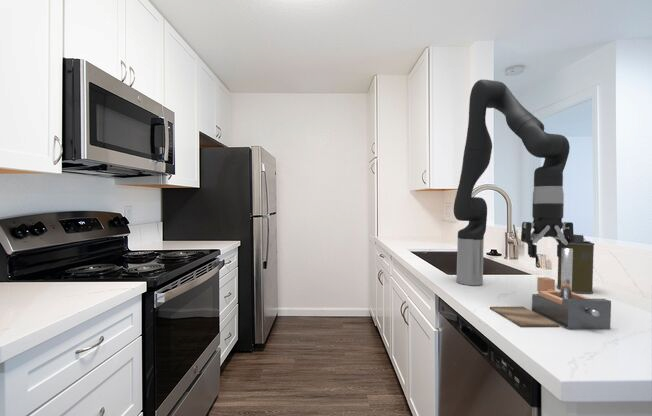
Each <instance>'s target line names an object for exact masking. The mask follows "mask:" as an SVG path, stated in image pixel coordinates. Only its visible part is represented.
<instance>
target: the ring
mask: <svg viewBox="0 0 652 416" xmlns="http://www.w3.org/2000/svg"><path fill="white" fill-rule="evenodd" d="M555 285H556V279H554V278H550V277H546V276H545V277H537V288H536V290H537V294H538V295H539V296H541V297H544V298H546V299H549V300H551V301H554V302H556V303H558V304H561V305H562V299H563V298H560V295H561V290H556V289H555ZM571 298H573V299H592V298H590V297H587V296H584V295H583V294H582V295H581V294H578V293H573V292H572V297H571Z"/></svg>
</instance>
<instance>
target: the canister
mask: <svg viewBox="0 0 652 416" xmlns="http://www.w3.org/2000/svg"><path fill="white" fill-rule="evenodd" d="M594 246H595V243H593V242H591V241H588V240H586V239H585V238H584V235H583V234H574V242H573V243H569V244H567V246H566V248H572V249H573V262H572V292H573V293H576V294H579V295H581V294H582V295H591V294H593V293H594V291H593V287H594V286H593V281H594V249H595V247H594ZM561 259H562V258H560V257H558V258H557V284H556V285H557V286H556V288H557V289H558V290H559V291H561Z"/></svg>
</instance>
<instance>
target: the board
mask: <svg viewBox="0 0 652 416" xmlns="http://www.w3.org/2000/svg"><path fill="white" fill-rule="evenodd" d="M489 309H490V310H491V311H493V312H495V313H497V314H498V315H499V316H501V317H503V318H505V319H506V320H508V321H510V322H511V323H513V324H515V325H517V326H518V327H520V328H559V327H560V325H559V324H557V323H555V322H553V321H551V320H549V319H547V318H545V317H543V316H541V315H539V314H537V313H535V312H533V311H532V309H531V310H530V309H529V308H526V307H525V306H489Z"/></svg>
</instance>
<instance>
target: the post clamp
mask: <svg viewBox="0 0 652 416" xmlns="http://www.w3.org/2000/svg"><path fill="white" fill-rule="evenodd" d="M572 262H573V249H572V248H562V259H561V290H560V291H561V295H560V298H563V299H562V305H561V304H558V303H556V302H554V301H551V300H549V299H546V298H544V297H541V296H539V295H538V293H532V294H531V299H532V300H531V301H532V302H531V311H533V312H535V313H537V314H539V315H541V316H543V317H545V318H547V319H549V320H551V321H553V322H555V323H557V324H559V327H562V328H565V329H567V330H611V319H612V301H611V300H609V299H606V298H591V299H573V298H571V297H572Z"/></svg>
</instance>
